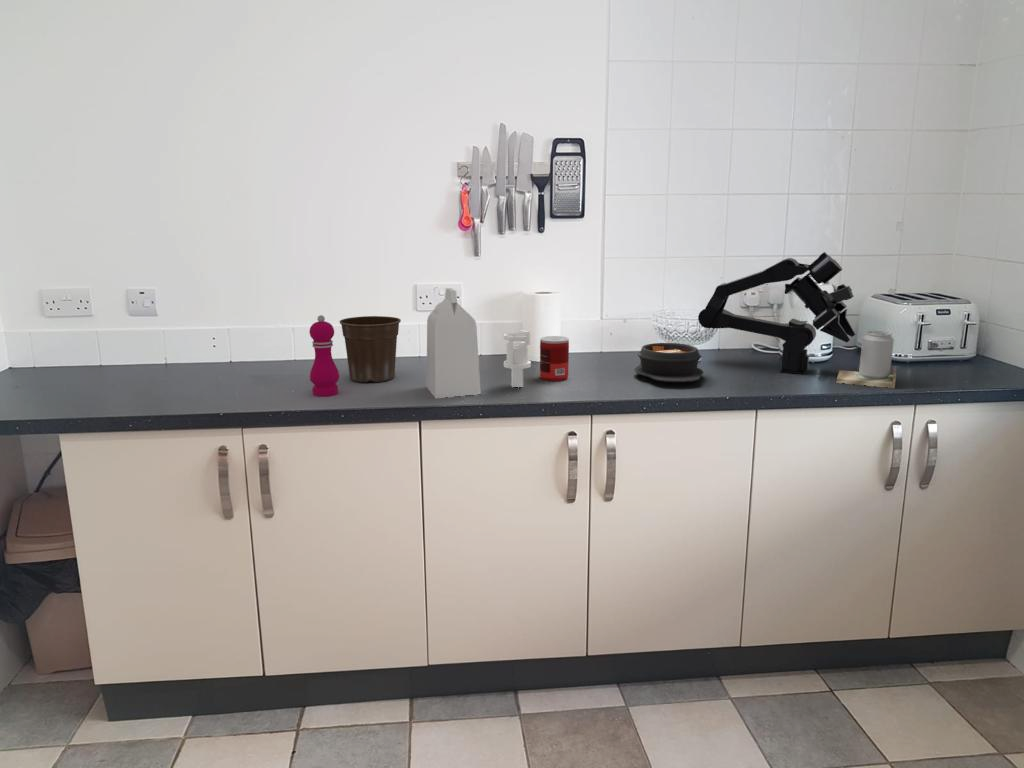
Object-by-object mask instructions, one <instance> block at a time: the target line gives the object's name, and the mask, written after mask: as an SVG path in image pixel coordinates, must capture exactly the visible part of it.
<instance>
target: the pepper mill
mask: <svg viewBox="0 0 1024 768" xmlns="http://www.w3.org/2000/svg"><path fill="white" fill-rule="evenodd" d="M325 319H326V318H325V316H324V315H322V314H321V315H318V316H317V321H316V322H313V323H312V324H311V326H310V328H309V336H310V338H311V339H312V340H313V341H312V342H311V343H312V347H313V348H314V361H313V364H312V367H311V369H310V374H309V381H310V382H311V383H312V384H313V385H314V386H313V387H312V395H314V396H316V397H331V396H336V395H337V394H338V393H339V385H338V384H337V383H338V381H339V379H340V373H339V369H338V367H337V366H336V364H335V362H334V360H333V355H332V347H333V346H334V344H333V343H334V341H333V340H332V339H333V338H334V336H335V329H334V326H333V324H332V323H330V322H328V321H325Z"/></svg>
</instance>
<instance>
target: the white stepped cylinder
mask: <svg viewBox="0 0 1024 768" xmlns="http://www.w3.org/2000/svg"><path fill="white" fill-rule="evenodd" d="M531 339H532V333H531V331H530V330H524V329H521V330H518V331H514V332H513V331H512V332H506V333H503V340H504V341H506V360H504V361H503V367H504V368H505V369H510V371H511V386H512V387H511V388H513V387H518V388H517V389H520V388H519V387H522V388H523V387H524V369H529V368H530V367H532V362H531V360H529V352H528V351H529V350H528V349H529V347H528V346H530V345H531ZM517 342H518V345H517Z"/></svg>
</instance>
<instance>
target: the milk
mask: <svg viewBox="0 0 1024 768" xmlns="http://www.w3.org/2000/svg"><path fill="white" fill-rule="evenodd" d="M444 295H445V296H444V299H443V300H442V301H441V302H439V303H438V304H436V305H435V306H434V308H433V310H432V311H431V312H430V314H429V315H428V316H427V320H426V321H427V322H426V388H427V389H428V391H429V393H431V395H432V396H433V397H434V398H435V399H445V397H448V398H455V397H454V396H461V397H466V396H465V395H474V396H478V395H477V394H481V393H482V392H481V376H480V363H479V361H480V360H479V346H478V344H479V343H478V342H479V340H478V327H477V322H476V319H475V318H474V317H473V316H472V315H471V314H470V313H469V312H468V311H466V309H464V308H463V306H462V305H461V304H459V303H458V298H457V296H458V295H457V290H455V289H453V288H451V287H449V288H447V287H446V288H445V293H444Z"/></svg>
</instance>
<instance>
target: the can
mask: <svg viewBox="0 0 1024 768" xmlns="http://www.w3.org/2000/svg"><path fill="white" fill-rule="evenodd" d="M861 340H862V341H861V350H860V360H859V366H858V368H859V369H858V372H859V373H860V374H861V375H862V376H863V377H865V378H870V379H885V378H886V377H888V376H889V375H891V365H892V357H893V349H894V348H893V347H894V341H895V339H894V338H893V337H892V333H891V332H889V331H883V330H882V331H881V330H880V331H879V330H867V331H865V335H863V336H862V339H861Z"/></svg>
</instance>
